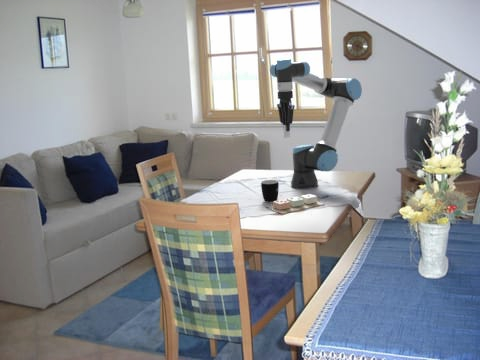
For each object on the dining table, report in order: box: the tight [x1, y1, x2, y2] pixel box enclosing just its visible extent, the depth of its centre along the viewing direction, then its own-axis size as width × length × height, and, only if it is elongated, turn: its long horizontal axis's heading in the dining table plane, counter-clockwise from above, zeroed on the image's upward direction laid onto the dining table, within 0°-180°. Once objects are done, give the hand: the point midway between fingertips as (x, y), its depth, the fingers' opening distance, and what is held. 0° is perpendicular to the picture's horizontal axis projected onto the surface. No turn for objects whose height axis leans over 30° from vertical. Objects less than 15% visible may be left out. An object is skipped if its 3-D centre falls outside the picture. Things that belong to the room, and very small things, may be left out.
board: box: [267, 200, 325, 215], centre depth 279 cm, size 25×14×1 cm, turn 118°
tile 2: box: [286, 196, 304, 207], centre depth 278 cm, size 6×6×3 cm
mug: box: [260, 179, 279, 203], centre depth 292 cm, size 12×9×10 cm
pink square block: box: [272, 198, 290, 210], centre depth 274 cm, size 6×6×3 cm
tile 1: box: [299, 193, 318, 204], centre depth 282 cm, size 6×6×3 cm
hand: (286, 137), depth 286 cm, fingers closed
